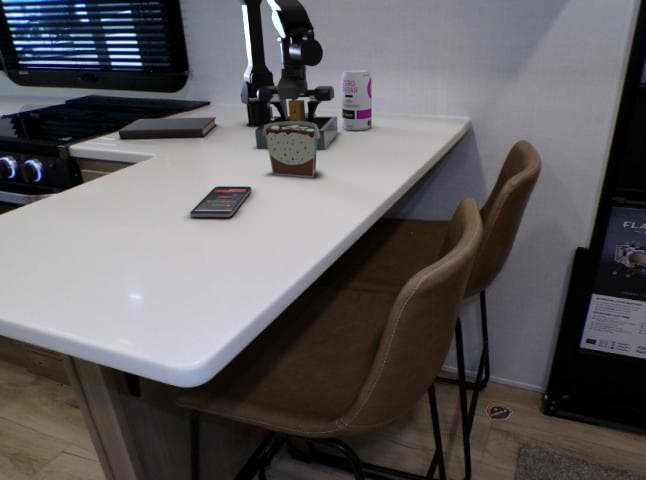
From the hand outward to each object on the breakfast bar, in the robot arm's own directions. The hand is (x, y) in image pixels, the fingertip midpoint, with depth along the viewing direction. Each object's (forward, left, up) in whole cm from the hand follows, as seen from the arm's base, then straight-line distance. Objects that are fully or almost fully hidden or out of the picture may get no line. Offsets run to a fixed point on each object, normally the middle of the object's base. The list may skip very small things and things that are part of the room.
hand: (298, 128), depth 136 cm
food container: (+7, -28, -3) cm, 29 cm away
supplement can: (+13, +16, -3) cm, 21 cm away
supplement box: (0, 0, -3) cm, 3 cm away
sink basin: (0, 0, -3) cm, 3 cm away
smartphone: (-2, -49, -3) cm, 49 cm away
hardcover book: (-40, +8, -3) cm, 41 cm away
